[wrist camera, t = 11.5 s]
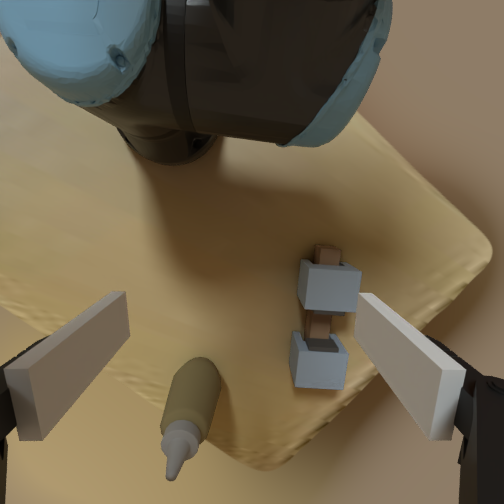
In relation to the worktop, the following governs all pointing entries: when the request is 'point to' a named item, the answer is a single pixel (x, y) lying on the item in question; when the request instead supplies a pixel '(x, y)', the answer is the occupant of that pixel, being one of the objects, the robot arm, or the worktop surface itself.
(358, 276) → the grey cube block
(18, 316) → the worktop surface
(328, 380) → the slider block
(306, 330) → the rail
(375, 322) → the robot arm
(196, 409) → the squeeze bottle
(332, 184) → the worktop surface
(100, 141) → the worktop surface
